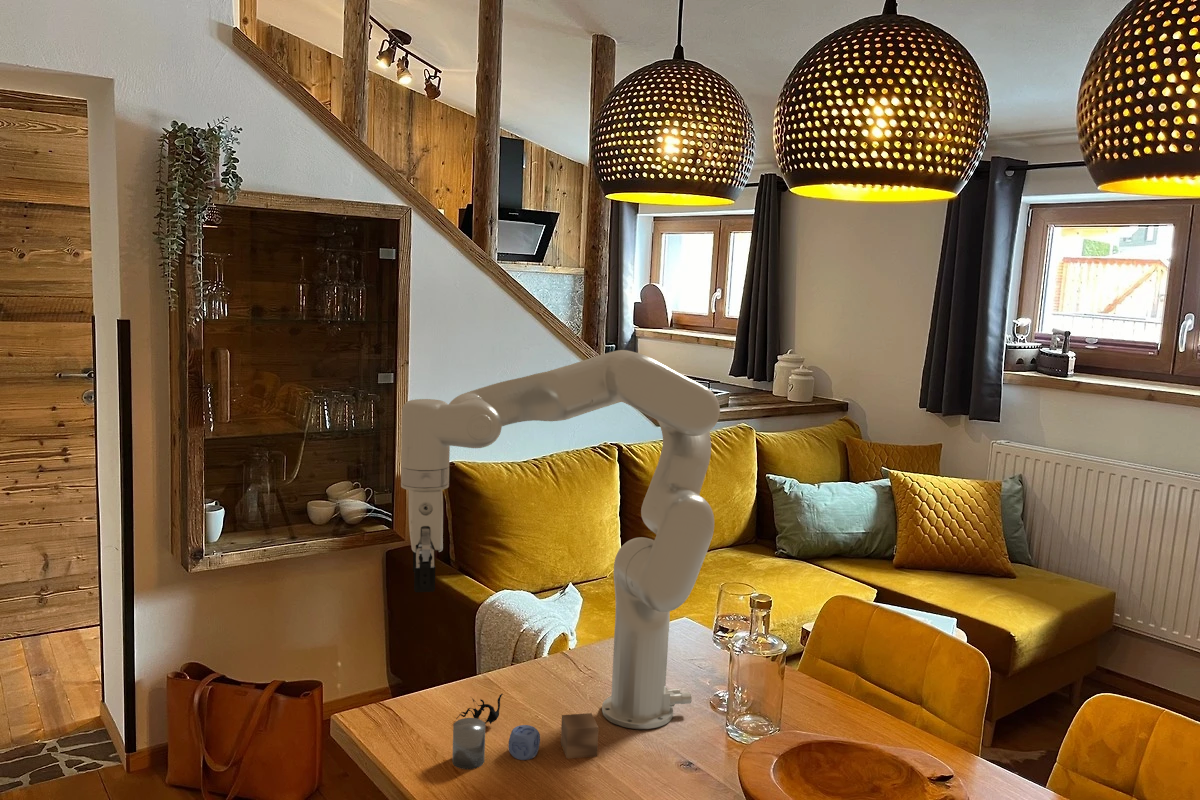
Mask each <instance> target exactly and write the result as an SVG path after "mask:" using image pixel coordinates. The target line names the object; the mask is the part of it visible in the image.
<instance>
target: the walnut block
mask: <svg viewBox="0 0 1200 800" xmlns="http://www.w3.org/2000/svg"><path fill="white" fill-rule="evenodd" d="M560 725H561V727H560V730H561V731H560V745H561V747H563V748H562V750H563V752H564V755H565V758H566V759H567V760H568V759H579V758H590V757H591V758H593V757H598V746H599V745H598V743H599V742H598V741H599V726H598V723H597V722H596V719H595V718H594V715H593V713H589V712H588V713H573V714H572V713H571V714H561V724H560Z"/></svg>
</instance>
